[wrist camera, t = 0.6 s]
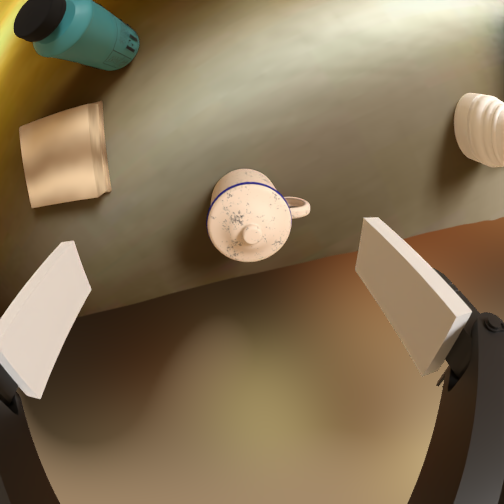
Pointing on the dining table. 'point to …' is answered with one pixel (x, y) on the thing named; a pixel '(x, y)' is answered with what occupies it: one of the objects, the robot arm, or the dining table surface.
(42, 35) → the beverage bottle
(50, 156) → the tan flat square block
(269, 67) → the dining table surface
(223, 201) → the teacup with lid
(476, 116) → the honey pot
